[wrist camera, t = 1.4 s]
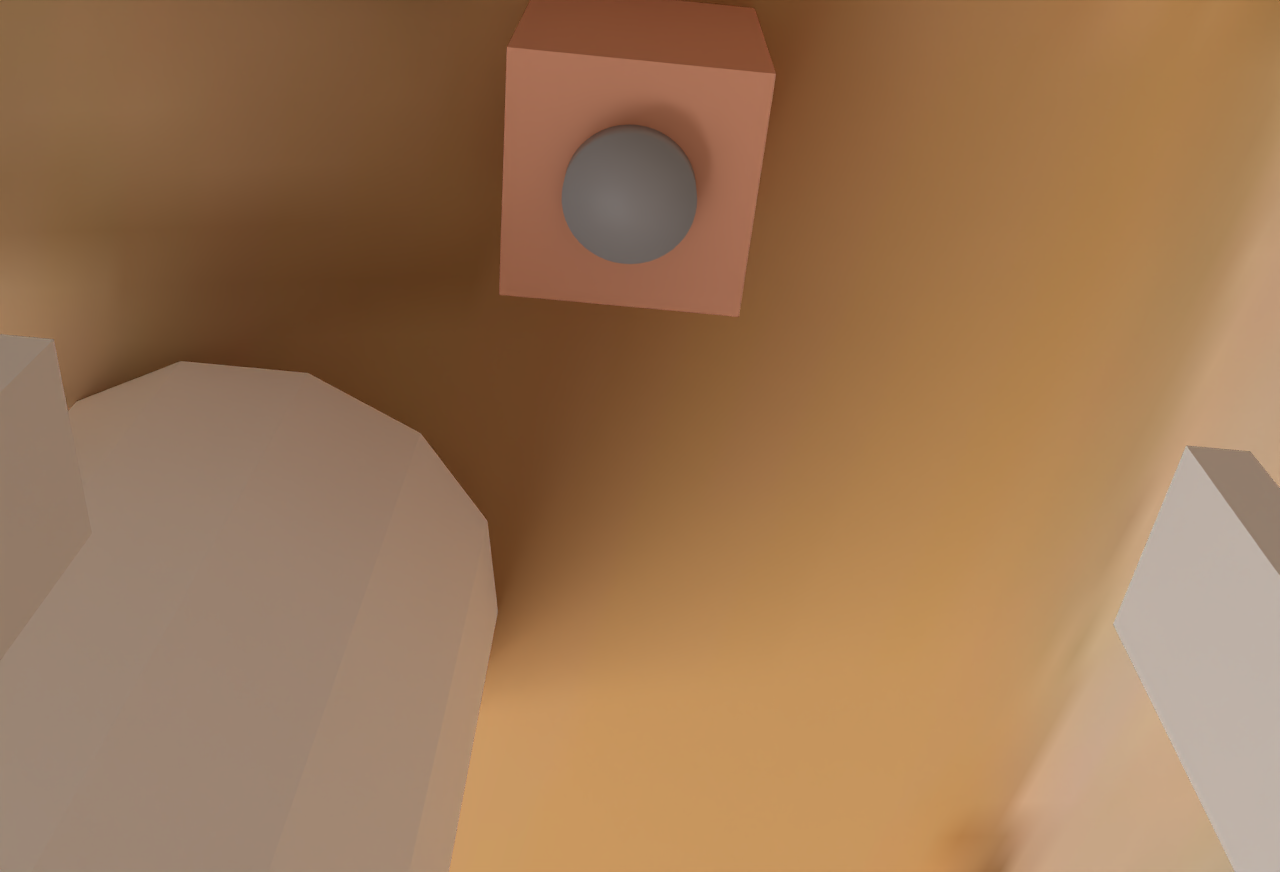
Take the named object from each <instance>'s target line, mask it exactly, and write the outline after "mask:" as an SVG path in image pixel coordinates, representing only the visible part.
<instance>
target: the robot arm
mask: <svg viewBox="0 0 1280 872" xmlns="http://www.w3.org/2000/svg"><path fill="white" fill-rule="evenodd" d="M91 534H92V531H91V526H90V521H89V516H88V511H87V506H86V501H85V496H84V490H83V485H82V480H81V475H80V470H79V465H78V460H77V455H76V450H75V445H74V439H73V434H72V429H71V424H70V419H69V414H68V409H67V404H66V399H65V394H64V389H63V383H62V378H61V373H60V368H59V363H58V358H57V353H56V348H55V343H54V339H45V338H35V337H24V336H13V335H3V334H0V660H1V659H2V658H3V656H4V655H5V653H6V652H7V651H8V649H9V648H10V646H11V645H12V644H13V642H14V641H15V640H16V638H17V637H18V635H19V634H20V633H21V631H22V630H23V628H24V627H25V626H26V624H27V623H28V622H29V620H30V619H31V617H32V616H33V615H34V613H35V612H36V610H37V609H38V608H39V606H40V605H41V603H42V602H43V601H44V599H45V598H46V597H47V595H48V594H49V592H50V591H51V590H52V588H53V587H54V585H55V584H56V583H57V581H58V580H59V579H60V577H61V576H62V574H63V573H64V572H65V570H66V569H67V567H68V566H69V565H70V563H71V562H72V560H73V559H74V558H75V556H76V555H77V554H78V552H79V551H80V549H81V548H82V547H83V545H84V544H85V542H86V541H87V540H88V538H89V537H90V536H91ZM1113 625H1114V627H1115V629H1116V631H1117V633H1118V635H1119V637H1120V639H1121V641H1122V644H1123V646H1124V648H1125V650H1126V652H1127V654H1128V656H1129V658H1130V660H1131V662H1132V664H1133V666H1134V668H1135V670H1136V672H1137V674H1138V676H1139V678H1140V680H1141V682H1142V684H1143V686H1144V688H1145V690H1146V692H1147V694H1148V696H1149V698H1150V700H1151V702H1152V704H1153V706H1154V708H1155V711H1156V713H1157V715H1158V717H1159V719H1160V721H1161V723H1162V725H1163V727H1164V729H1165V731H1166V733H1167V735H1168V737H1169V739H1170V741H1171V743H1172V745H1173V747H1174V749H1175V751H1176V753H1177V755H1178V757H1179V759H1180V761H1181V763H1182V765H1183V767H1184V769H1185V771H1186V773H1187V776H1188V778H1189V780H1190V782H1191V784H1192V786H1193V788H1194V790H1195V792H1196V794H1197V796H1198V798H1199V800H1200V802H1201V804H1202V806H1203V808H1204V810H1205V812H1206V814H1207V816H1208V818H1209V820H1210V822H1211V824H1212V826H1213V828H1214V830H1215V832H1216V834H1217V836H1218V838H1219V841H1220V843H1221V845H1222V847H1223V849H1224V851H1225V853H1226V855H1227V857H1228V859H1229V861H1230V863H1231V865H1232V867H1233V869H1234V871H1235V872H1280V488H1279V487H1278V486H1277V484H1276V483H1275V482H1274V481H1273V479H1272V478H1271V477H1270V476H1269V474H1268V473H1267V472H1266V471H1265V469H1264V468H1263V467H1262V466H1261V464H1260V463H1259V462H1258V461H1257V459H1256V458H1255V457H1254V456H1253V454H1252V453H1251V452H1250V451H1239V450H1228V449H1218V448H1207V447H1196V446H1186V447H1185V450H1184V452H1183V455H1182V457H1181V460H1180V462H1179V465H1178V467H1177V469H1176V472H1175V474H1174V477H1173V479H1172V482H1171V484H1170V487H1169V489H1168V491H1167V494H1166V496H1165V499H1164V501H1163V504H1162V506H1161V509H1160V511H1159V513H1158V516H1157V518H1156V521H1155V523H1154V526H1153V528H1152V531H1151V533H1150V535H1149V538H1148V540H1147V543H1146V545H1145V548H1144V550H1143V553H1142V555H1141V557H1140V560H1139V562H1138V565H1137V567H1136V570H1135V572H1134V575H1133V577H1132V579H1131V582H1130V584H1129V587H1128V589H1127V592H1126V594H1125V597H1124V599H1123V601H1122V604H1121V606H1120V609H1119V611H1118V614H1117V616H1116V619H1115V621H1114V623H1113Z"/></svg>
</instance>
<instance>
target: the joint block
mask: <svg viewBox="0 0 1280 872" xmlns="http://www.w3.org/2000/svg"><path fill="white" fill-rule="evenodd" d="M775 78H776V72H775V69H774V66H773V63H772V60H771V57H770V54H769V51H768V48H767V45H766V42H765V39H764V35H763V32H762V29H761V26H760V23H759V20H758V17H757V14H756V11H755V8H749V7H739V6H729V5H719V4H709V3H700V2H690V1H680V0H530V2H529V4H528V6H527V8H526V10H525V12H524V14H523V16H522V18H521V20H520V22H519V24H518V26H517V28H516V30H515V32H514V34H513V36H512V38H511V40H510V42H509V44H508V46H507V59H506V91H505V123H504V155H503V187H502V218H501V250H500V282H499V295H508V296H519V297H530V298H540V299H551V300H562V301H573V302H584V303H594V304H605V305H616V306H627V307H638V308H648V309H659V310H670V311H681V312H692V313H702V314H713V315H724V316H735V317H739V313H740V307H741V300H742V294H743V287H744V280H745V274H746V267H747V261H748V254H749V248H750V241H751V235H752V228H753V222H754V215H755V209H756V202H757V195H758V189H759V182H760V176H761V169H762V163H763V156H764V150H765V143H766V137H767V130H768V124H769V117H770V111H771V104H772V97H773V91H774V84H775Z"/></svg>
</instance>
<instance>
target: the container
mask: <svg viewBox="0 0 1280 872" xmlns="http://www.w3.org/2000/svg"><path fill="white" fill-rule="evenodd" d="M68 414H69V419H70V424H71V429H72V434H73V439H74V445H75V450H76V455H77V460H78V465H79V470H80V475H81V480H82V485H83V490H84V496H85V501H86V506H87V511H88V516H89V521H90V526H91V531H92V534H91V536H90V537H89V538H88V540H87V541H86V542H85V544H84V545H83V547H82V548H81V549H80V551H79V552H78V554H77V555H76V556H75V558H74V559H73V560H72V562H71V563H70V565H69V566H68V567H67V569H66V570H65V572H64V573H63V574H62V576H61V577H60V579H59V580H58V581H57V583H56V584H55V585H54V587H53V588H52V590H51V591H50V592H49V594H48V595H47V597H46V598H45V599H44V601H43V602H42V603H41V605H40V606H39V608H38V609H37V610H36V612H35V613H34V615H33V616H32V617H31V619H30V620H29V622H28V623H27V624H26V626H25V627H24V628H23V630H22V631H21V633H20V634H19V635H18V637H17V638H16V640H15V641H14V642H13V644H12V645H11V646H10V648H9V649H8V651H7V652H6V653H5V655H4V656H3V658H2V659H1V660H0V872H449V868H450V863H451V858H452V852H453V847H454V842H455V836H456V831H457V826H458V821H459V815H460V810H461V805H462V799H463V794H464V789H465V783H466V778H467V773H468V768H469V762H470V757H471V752H472V746H473V741H474V736H475V731H476V725H477V720H478V715H479V709H480V704H481V699H482V693H483V688H484V683H485V678H486V672H487V667H488V662H489V656H490V651H491V646H492V640H493V635H494V630H495V625H496V619H497V614H498V607H497V598H496V590H495V581H494V572H493V564H492V555H491V546H490V538H489V529H488V521H487V520H486V518H485V517H484V516H483V514H482V513H481V512H480V510H479V509H478V508H477V506H476V505H475V504H474V503H473V501H472V500H471V499H470V497H469V496H468V495H467V493H466V492H465V491H464V489H463V488H462V487H461V486H460V484H459V483H458V482H457V480H456V479H455V478H454V476H453V475H452V474H451V472H450V471H449V470H448V468H447V467H446V466H445V465H444V463H443V462H442V461H441V459H440V458H439V457H438V455H437V454H436V453H435V451H434V450H433V449H432V447H431V446H430V445H429V444H428V442H427V441H426V440H425V438H424V437H423V436H422V434H421V433H419V432H418V431H416V430H414V429H412V428H410V427H408V426H406V425H404V424H403V423H401V422H399V421H397V420H395V419H393V418H391V417H389V416H388V415H386V414H384V413H382V412H380V411H378V410H376V409H375V408H373V407H371V406H369V405H367V404H365V403H363V402H361V401H360V400H358V399H356V398H354V397H352V396H350V395H348V394H347V393H345V392H343V391H341V390H339V389H337V388H335V387H333V386H332V385H330V384H328V383H326V382H324V381H322V380H320V379H318V378H317V377H315V376H313V375H311V374H309V373H303V372H292V371H282V370H271V369H260V368H250V367H239V366H228V365H218V364H207V363H196V362H185V361H179V362H177V363H174V364H172V365H169V366H167V367H164V368H161V369H159V370H156V371H154V372H151V373H149V374H146V375H143V376H141V377H138V378H136V379H133V380H130V381H128V382H125V383H123V384H120V385H118V386H115V387H112V388H110V389H107V390H105V391H102V392H100V393H97V394H94V395H92V396H89V397H87V398H84V399H81V400H79V401H76V403H75V404H74V405H73V406H72V407H71V408H70V409H69V410H68Z"/></svg>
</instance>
